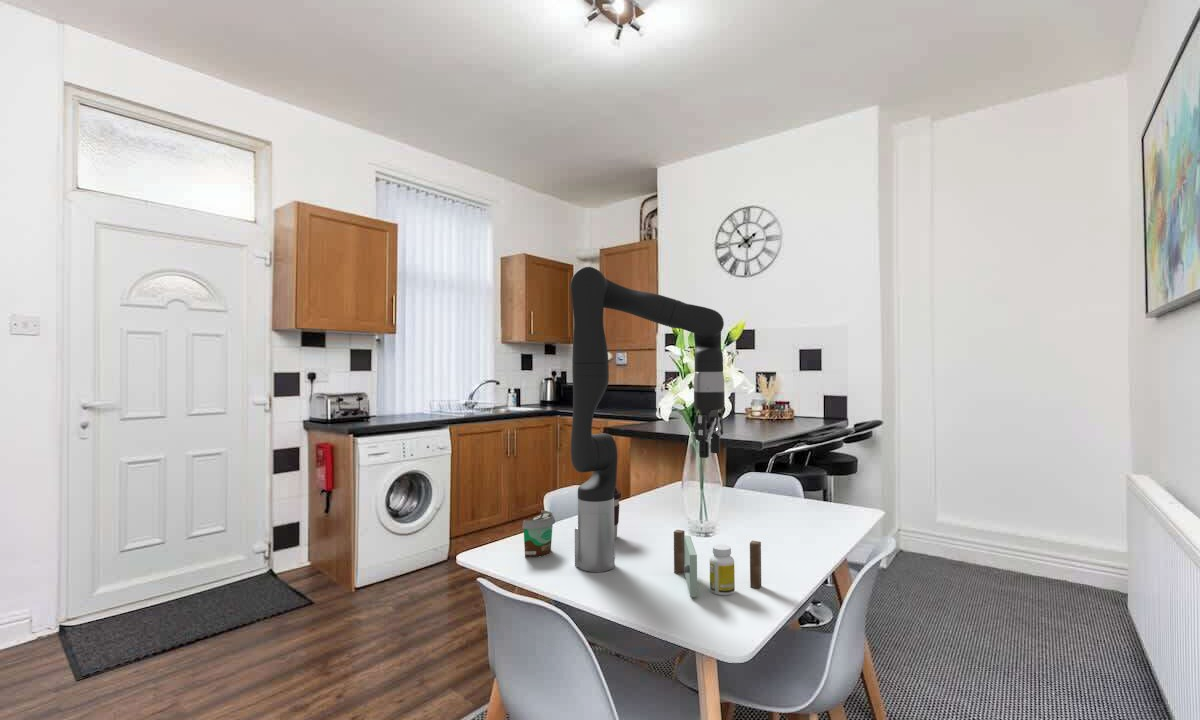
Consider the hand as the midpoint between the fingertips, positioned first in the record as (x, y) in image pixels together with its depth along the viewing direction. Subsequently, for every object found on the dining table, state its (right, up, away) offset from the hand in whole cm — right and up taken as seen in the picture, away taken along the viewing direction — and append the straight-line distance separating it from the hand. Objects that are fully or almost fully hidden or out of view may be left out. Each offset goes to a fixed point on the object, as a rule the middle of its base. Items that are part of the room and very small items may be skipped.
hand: (709, 455), depth 137 cm
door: (-7, -27, -12) cm, 31 cm away
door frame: (0, -28, -7) cm, 29 cm away
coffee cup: (-26, -29, +26) cm, 47 cm away
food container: (-43, -29, +13) cm, 53 cm away
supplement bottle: (0, -28, -14) cm, 32 cm away
